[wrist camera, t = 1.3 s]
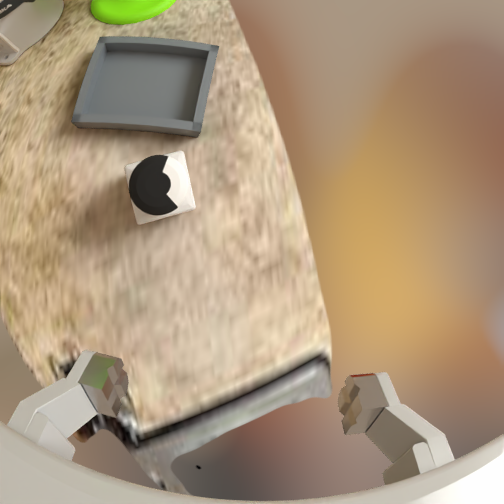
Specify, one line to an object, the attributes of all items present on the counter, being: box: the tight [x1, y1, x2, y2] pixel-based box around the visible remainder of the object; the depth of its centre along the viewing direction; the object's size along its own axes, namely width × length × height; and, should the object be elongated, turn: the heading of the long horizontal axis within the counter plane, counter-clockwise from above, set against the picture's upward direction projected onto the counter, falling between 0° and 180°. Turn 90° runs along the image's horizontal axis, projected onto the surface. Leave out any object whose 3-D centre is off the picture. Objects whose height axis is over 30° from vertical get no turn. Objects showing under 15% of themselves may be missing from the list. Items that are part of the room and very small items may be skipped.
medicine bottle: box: [124, 151, 196, 225], centre depth 30 cm, size 7×7×12 cm
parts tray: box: [71, 37, 219, 137], centre depth 30 cm, size 18×14×4 cm
